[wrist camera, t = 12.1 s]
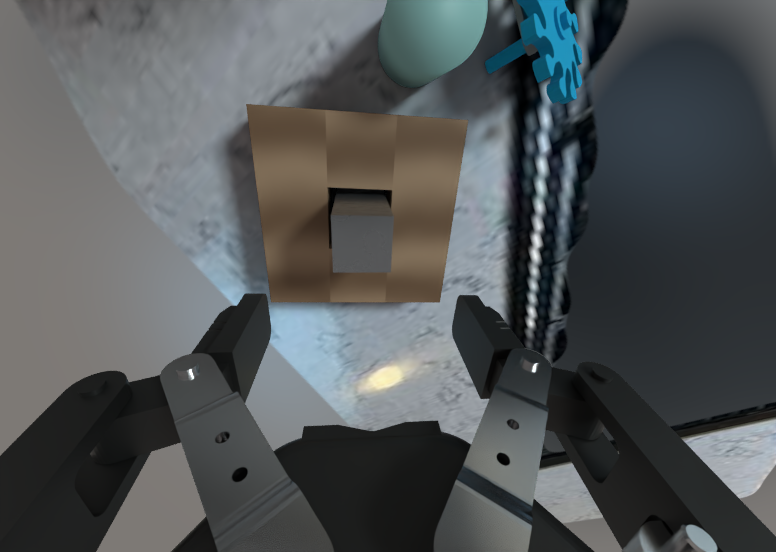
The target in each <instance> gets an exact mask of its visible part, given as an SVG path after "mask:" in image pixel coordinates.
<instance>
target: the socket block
mask: <svg viewBox="0 0 776 552" xmlns="http://www.w3.org/2000/svg"><path fill="white" fill-rule="evenodd" d="M246 106H247V114H248V122H249V130H250V138H251V146H252V154H253V161H254V169H255V177H256V185H257V193H258V201H259V209H260V217H261V225H262V233H263V241H264V249H265V257H266V265H267V273H268V281H269V289H270V297H271V302H440V297H441V291H442V285H443V278H444V272H445V265H446V259H447V253H448V246H449V240H450V233H451V227H452V221H453V214H454V208H455V201H456V195H457V189H458V182H459V176H460V169H461V163H462V157H463V150H464V144H465V137H466V131H467V125H468V120H460V119H446V118H432V117H418V116H404V115H390V114H376V113H362V112H348V111H334V110H320V109H306V108H292V107H278V106H264V105H251V104H246ZM331 187H333V188H356V189H379V190H387V201H388V204H389V206H390V208H391V211H392V213H393V215H394V224H393V242H392V261H391V272H360V273H333V259H332V232H331V213H332V207H331Z"/></svg>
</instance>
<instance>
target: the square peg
mask: <svg viewBox="0 0 776 552" xmlns="http://www.w3.org/2000/svg"><path fill="white" fill-rule="evenodd" d="M393 224H394V215H393V213H392V211H391V208H390V206H389V204H388V201H387V199H386V197H385V194H384V192H383V190H379V189H356V188H338V190H337V194H336V198H335V201H334V205H333V209H332V213H331V232H332V259H333V273H360V272H391V261H392V242H393Z"/></svg>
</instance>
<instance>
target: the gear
mask: <svg viewBox="0 0 776 552" xmlns="http://www.w3.org/2000/svg"><path fill="white" fill-rule="evenodd" d="M566 1H567V0H512V2H513V6H514V10H515V14H516V18H517V22H518V26H519V31H520V35H521V39H520V40H518V41H516V42H515V43H513V44H512V45H510V46H509V47H507V48H505V49H504V50H502V51H501V52H499V53H497V54H496V55H494V56H493V57H491V58H489V59H488V60H486V62H485V66H486V70H487V72H488V73H489V74H491V73H493V72H494V71H496V70H498V69H499V68H501V67H503V66H504V65H506V64H508V63H510V62H511V61H513V60H515V59H516V58H518V57H520V56H521V55H523V54H525V53H527V55H529V56H530V55H532V54H534V53H535V52H537V51H539V53H540V57H541V58H539V59H537V60H535V61H533V64H532V66H533V70H534V74H535V76H536V79H537V82H538V83H539V82H541V81H543V80H545V79H547V78H549V77H551V82H550V84H548V85H547V95H548V97H549V99H550V100H551V102H552V103H555V102H558V101H559V102H560V103H561V104H565V103H568V102H570V101H572V100H575V99H576V90H575V89H576V88H578V87H580V86H581V84H582V79H581V75H580V73H579V70H578V68H577V66H578V65H580V64H581V63H582V51H581V48H580V47H579V46H578V44H577V43H576V41H575V39H574V36H573V35H574V34H575V33H577V32H578V24H577V17H576V15H575V13H574V14H570V12H569V10H568V9H567V7H566V5H565V2H566Z"/></svg>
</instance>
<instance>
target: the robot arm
mask: <svg viewBox="0 0 776 552" xmlns="http://www.w3.org/2000/svg"><path fill="white" fill-rule="evenodd" d="M452 334H453V339H454V341H455V343H456V345H457V348H458V350H459V352H460V354H461V356H462V359H463V361H464V363H465V365H466V368H467V370H468V372H469V374H470V376H471V379H472V381H473V383H474V385H475V387H476V390H477V392H478V394H479V396H480V399H489V402H488V404H487V407H486V409H485V412H484V414H483V417H482V419H481V422H480V424H479V427H478V429H477V432H476V434H475V437H474V439H473V442H472V444H469V443H468V442H466V441H464V440H462V439H461V438H458V437H456V436H454V435H451V434H448V433H444V432H441V430H440V426H439V423H438V421H419V422H405V423H401V424H398V425H394V426H391V427H388V428H384V429H381V430H377V431H367V430H362V429H356V428H351V427H346V426H341V425H325V426H304V429H303V435H302V438H300V439H297V440H295V441H292V442H289V443H287V444H285V445H283V446H281V447H280V448H278V449H276V450H275V451H273V450H272V449H271V447H270V445H269V443H268V442H267V440H266V438H265V437H264V435H263V433H262V432H261V430H260V428H259V427H258V425H257V423H256V421H255V420H254V418H253V416H252V415H251V413H250V411H249V410H248V408H247V407H246V405H245V402H246V399H247V396H248V394H249V392H250V389H251V386H252V384H253V381H254V379H255V376H256V374H257V371H258V369H259V366H260V364H261V361H262V358H263V356H264V353H265V351H266V348H267V346H268V343H269V340H270V336H271V323H270V315H269V308H268V301H267V296H266V294H244V296H243V297H242V299H241V300H240V302H239V304H238V305H237V306H230V307H228V308H227V309H225V310H224V311H222V312H221V313H220V314H219V315H218V317H217V318H216V319H215V321H214V323H213V324H212V325H211V326H210V328H209V331H207V332H206V334H205V335H204V336H203V338H202V339H201V341H200V342H199V344H198V345H197V346H196V348H195V349H194V350H193V352H192V353H191V354H189V355H185V356H182V357H180V358H178V359H176V360H174V361H172V362H171V363H169V364H168V365H167V366H166V367H165V368H164V369H163V370H162V372H161V374H160V375H158V376H155V377H151V378H146V379H142V380H138V381H133V382H128V380H127V377H126V375H125V374H124V373H122V372H118V371H106V372H100V373H97V374H94V375H91V376H88V377H86V378H83V379H81V380H80V381H78V382H76V383H74V384H73V385H71V386H70V387H69V388H68V389H66V390H65V391H64V392H63V393H62V394H61V395H60V396H59V397H58V398H57V399H56V400H55V402H53V403H52V404H51V405H50V406H49V407H48V408H47V409H46V410H45V411H44V412H43V413H42V414H41V415H40V416H39V417H38V418H37V419H36V420H35V421H34V422H33V423H32V424H31V425H30V426H29V427H28V428H27V429H26V430H25V431H24V432H23V433H22V434H21V436H19V437H18V438H17V440H16V441H14V443H12V445H10V446H9V448H8V449H7V450H6V451H5V452H4V453H3V454H2V455H1V456H0V552H96V551H97V549H98V547H99V545H100V544H101V542H102V540H103V538H104V536H105V535H106V533H107V531H108V529H109V527H110V525H111V524H112V522H113V520H114V518H115V516H116V515H117V512H118V511H119V509H120V507H121V506H122V504H123V502H124V500H125V498H126V497H127V494H128V493H129V491H130V489H131V487H132V486H133V484H134V482H135V480H136V478H137V477H138V475H139V473H140V471H141V469H142V468H143V466H144V464H145V462H146V460H147V458H148V457H149V455H150V453H151V451H155V450H158V449H161V448H164V447H168V446H171V445H174V444H177V443H180V442H181V443H182V446H183V449H184V452H185V455H186V458H187V461H188V464H189V467H190V469H191V472H192V476H193V479H194V482H195V485H196V487H197V490H198V493H199V496H200V499H201V502H202V505H203V508H204V511H205V514H206V517H205V518H204V519H203V520H202V521H201V522H200V523H199V524H198V525H197V526H196V528H194V530H192V531H191V532H190V533H189V534H188V535H187V536H186V538H184V539H183V540H182V541H181V542H180V543H179V544H178V545H177V546H176V547H175V548H174V549H173V550H172V551H171V552H594V551H593V550H592V549H591V548H590V547H588V546H587V545H586V544H585V543H584V542H583V541H582V540H580V539H579V538H578V537H577V536H576V535H575V534H574V533H572V532H571V531H570V530H569V529H568V528H567V527H566V526H564V525H563V524H562V523H561V522H560V521H559V520H558V519H556V518H555V517H554V516H553V515H552V514H551V513H550V512H548V511H547V510H546V509H545V508H544V507H543V506H542V505H540V504H539V503H538V502H537V501H536V500H535V499H534V494H535V488H536V482H537V476H538V470H539V464H540V458H541V452H542V446H543V440H544V434H545V430H549V431H554V432H555V433H556V435H557V437H558V439H559V441H560V442H561V444H562V446H563V448H564V449H565V451H566V453H567V455H568V456H569V458H570V460H571V461H572V463H573V465H574V467H575V468H576V470H577V472H578V474H579V475H580V477H581V479H582V481H583V482H584V484H585V486H586V487H587V489H588V491H589V493H590V494H591V496H592V498H593V500H594V501H595V503H596V505H597V507H598V508H599V510H600V512H601V513H602V515H603V517H604V519H605V520H606V522H607V524H608V525H609V527H610V529H611V530H612V533H613V534H614V536H615V538H616V539H617V541H618V543H619V545H620V546H621V548H622V552H776V536H775V535H774V534H773V533H772V532H771V531H770V530H769V529H768V528H767V527H766V526H765V525H764V524H763V523H762V522H761V521H760V520H759V519H758V518H757V517H756V516H755V515H754V514H753V513H752V512H751V510H749V508H748V507H747V506H746V505H744V503H743V502H742V501H741V500H740V499H739V498H738V497H737V496H736V495H735V494H734V493H733V492H732V491H731V490H730V489H729V488H728V487H727V486H726V485H725V484H724V483H723V481H722V480H721V479H720V478H719V477H718V476H717V475H716V474H715V473H714V472H713V471H712V470H711V469H710V468H709V467H708V466H707V465H706V464H705V463H704V462H703V461H702V460H701V459H700V458H699V457H698V456H697V455H696V454H695V452H694V451H693V450H692V449H691V448H690V447H689V446H688V445H687V444H686V443H685V442H684V441H683V440H682V439H681V438H680V437H679V436H678V435H677V434H676V433H675V432H674V431H673V430H672V429H671V428H670V427H669V426H668V425H667V424H666V422H664V420H663V419H662V418H661V417H660V416H659V415H658V414H657V413H656V412H655V411H654V410H653V409H652V408H651V407H650V406H649V405H648V404H647V403H646V402H645V401H644V400H643V399H642V398H641V397H640V396H639V395H638V394H637V393H636V391H635V390H634V389H633V388H632V387H631V386H630V385H629V384H628V383H627V382H626V381H625V380H624V379H623V378H622V377H621V376H620V375H619V374H618V373H616V372H615V371H613V370H612V369H610V368H608V367H606V366H604V365H601V364H598V363H595V362H582V363H580V364H579V365H578V367H577V369H576V371H575V372H572V371H567V370H562V369H557V368H554V367H552V365H551V363H550V362H549V361H548V360H547V359H546V358H545V357H544V356H543V355H541V354H539V353H537V352H535V351H533V350H530V349H525V348H524V346H523V345H522V344H521V342H520V341H519V340H518V338H517V337H516V336H515V334H514V333H513V332H512V330H511V329H509V326H508V325H507V324H506V323H505V321H504V320H503V318H502V317H501V316H500V314H499V313H498V312H496V311H495V310H493V309H492V308H491V307H485V305H484V304H483V302H482V301H481V300H480V298H479V297H478V296H477V295H460V296H459V297H458V299H457V303H456V309H455V314H454V319H453V325H452ZM605 427H606V429H607V430H608V431H609V433H610V434H611V435H612V436H613V438H614V440H615V441H616V443H617V445H618V448H619V454H618V452H617V451H616V450H615V448H614V447H613V445H612V444H611V443H610V441H609V440H608V439H607V437H606V436H605V435H604V433H603V432H602V431H603V430H604V428H605Z"/></svg>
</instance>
